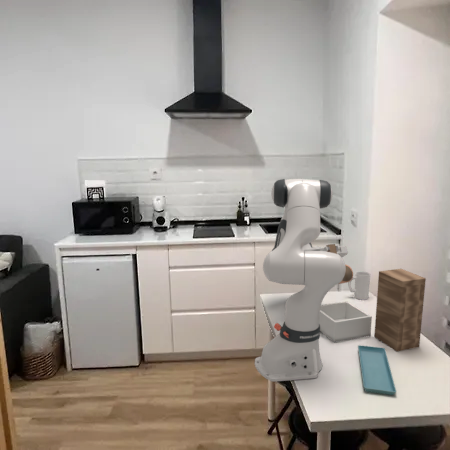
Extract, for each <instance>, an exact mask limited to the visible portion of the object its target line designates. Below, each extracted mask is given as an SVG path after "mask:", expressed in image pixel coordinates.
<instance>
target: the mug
mask: <svg viewBox="0 0 450 450" xmlns="http://www.w3.org/2000/svg"><path fill="white" fill-rule="evenodd" d="M354 274H355V275H353V278H352V280H351V281H350V282H347V283H348V284H347V285H348V289H349V291H350V293H354V298H355V299H357V300H360V301H362V300H363V301H366V300H368V299H369V294H370V285H371V284H370V283H371V282H370V281H371V273H370V272H368V271H355V273H354ZM353 280H354V288H352V285H351V284H352V281H353Z"/></svg>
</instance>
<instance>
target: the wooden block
mask: <svg viewBox="0 0 450 450" xmlns="http://www.w3.org/2000/svg"><path fill="white" fill-rule="evenodd" d="M377 280H378V281H377V282H378V283H377V291H376V292H377V294H376V296H377V297H376V306H375V307H376V309H375V310H376V311H375V323H374V324H375V325H374V338H375V339H377V340H379V342H381V343H383V344H384V345H386V346H388V347H389V348H391V349H392V350H394V351H395V352H402V351H407V350H411V349H417V348H420V343H421V342H420V341H421V331H422V324H423V323H422V322H423V321H422V320H423V312H424V302H425V289H426V282H427V281H426V280H427V279H426V277H423V276H420V275H418V274H415V273H413V272H411V271H408V270H405V269H402V268H396V269H395V268H394V269H387V270H379V271H378V279H377Z"/></svg>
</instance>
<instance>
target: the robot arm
mask: <svg viewBox="0 0 450 450" xmlns="http://www.w3.org/2000/svg"><path fill="white" fill-rule="evenodd" d="M333 195H334V194H333V188H332V186H331V183H330V182H329V181H327V180H324V179H319V180H317V179H309V178H308V179H307V178H290V179H289V178H287V179H285V178H281V179H277V180H276V181H275V182H274V184H273V185H272V188H271V200H272V202H273V204H274V205H276V207H278V208H284V210H283V215H282V217H281V219H280V222H279V223H278V227H277V232H276V237H275V240H274V241H275V242H274V246H273V248H272V250H271V251H270V252H269V253H268V254H267V255H266V256H265V257H264V260H263V263H262V271H263V274H264V275H265V277H266V279H267V280H268V281H269V282H273V283H277V284H281V285H295V286H297V285H298V286H300V285H301V286H304V287H303V288H302V289H301V290H299V291H297V292H295V293H293V294H292V295H290V296H289V297H288V298H287V299H286V301H285V303H284V304H285V308H284V311H285V312H284V321H283V323H282V325H280V323H278V322H277V323H275V324H274V326H273V328H274V329H275V330H276V331H279V333H278V334H277V335H276V336H274V337H273V338H272V339H271V340H269V341H268V342H267V343H265V344H264V346H263V348H262V350H261V351H262V352H261V356H257V357H256V358H255V359H254V366H255V367H254V368H255V369H256V370H257V372H258V374H260V375H261V376H262V377H264V378H265V379H266V380H268V381H270V382H284V381H285V382H286V381H297V380H309V379H310V380H311V379H316V378H318V376H319V372H320V371H321V370H322V368H323V362H322V358H321V352H320V350H321V349H320V341H319V340H320V337H321V332H320V324H319V316H320V308H321V305H322V303H323V302H324V301H323V300H324V298H325V297H326V295H327V294H328V292H330V290H331V289H333V288H334V287H335V286H337V284H338V285H340V284H339V283H340V282H341V281H342V279H343V278H344V275H345V271H346V267H345V264H346V263H345V261H344V259H343V257H345V256H346V255H348V253H349V251H348V248H347V246H346V245H335V246H336V251H337V254H335V253H331V252H328V251H330V247H326V246H318V245H315V246H313V245H312V243H313V242H314V241H316V240H317V239H318V238H319V236H320V234H321V209H325V208H327V207H329V206H330V204H331V202H332V199H333Z"/></svg>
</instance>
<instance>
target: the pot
mask: <svg viewBox="0 0 450 450" xmlns="http://www.w3.org/2000/svg"><path fill="white" fill-rule="evenodd" d="M336 246H337V245H336V244H335V243H333V244H332V243H330V244H327V245H325V247H330V251H328V252H331V253H335V254H337V251H336ZM345 267H346V271H345V275H344V278H343V279H342V281H341V282H340V283H339V284H337V285H338V286H339V285H341V284H342V285H343V284H347V283H348V282H350V281H351V280H352V278H353V276H354V271H353V269H352V267H351V266H350V265H348V264H346V263H345ZM352 281H353V280H352ZM352 281H351V282H352ZM337 285H336V286H337Z"/></svg>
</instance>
